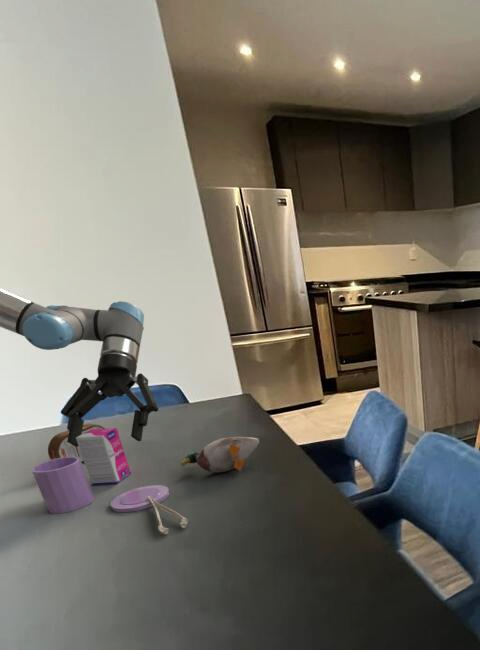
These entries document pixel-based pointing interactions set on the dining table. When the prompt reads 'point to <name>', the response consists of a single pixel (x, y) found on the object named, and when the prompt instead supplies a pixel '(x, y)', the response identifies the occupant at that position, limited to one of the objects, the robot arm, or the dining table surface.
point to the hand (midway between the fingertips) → (104, 441)
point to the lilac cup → (63, 484)
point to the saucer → (139, 498)
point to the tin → (67, 444)
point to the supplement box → (103, 456)
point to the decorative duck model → (224, 454)
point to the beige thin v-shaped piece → (171, 512)
